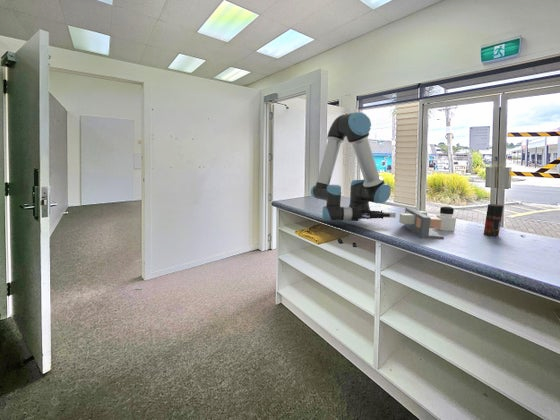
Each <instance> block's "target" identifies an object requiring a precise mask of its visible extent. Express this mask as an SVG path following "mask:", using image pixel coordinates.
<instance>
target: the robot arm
mask: <svg viewBox="0 0 560 420" xmlns="http://www.w3.org/2000/svg"><path fill="white" fill-rule="evenodd" d="M371 127H372V122H371V119H370V117H369V115H367V114H366V113H364V112H361V111H360V112H357V111H356V112H352V113H345V114H340V115H339V116H337V117H336V118H335V119H334V121H333V122H332V123H331V126H330V127H329V130H328V133H327V136H326V139H327V143H326V146H325V150H324V153H323V157H322V161H321V164H320V168H319V171H318V172H319V173H318V176H317V180H316V182H315V185H313V186H312V187H311V189H310V195H311V196H312V198H314V199H317V200H322V201H324V202H325V201H326V204H325V206H323V207H322V209H321V210H322V213H321V215H322V216H321V217H322V219H323V220H324V221H341V222H342V221H344V222H345V223H346V222H347V221H348V222H349V221H351V222H358V221H359V220H360V219H366V220H369V219H370V220H371V219H373V220H374V219H381V220H384V218H388V219H389V218H390V219H391V218H393V219H394V218H396V217H397V212H395V211H383V210H371V208H370V202H371V203H375V204H384V203H386V202H387V201H388V200H389V199H390V196H391V193H392V188H391V186H390V184H388V183H385V180H384V178H383V176H380V173H379V170H378V167H377V165H376V164H377V163H376V161H375V156H374V154H373V151H372V148H371V147H372V146H371V144H370V141H369V139H368V138H369V136H370V131H371V129H372V128H371ZM345 138H346V140H347V142H348V143H349V144H351V145H352V148H353V151H354V154H355V157H356V160H357V163H358V165H359V168H360V172H361V174H362V177H363V179H353V180H352V181H350V190H349V191H350V192H349V193H350V196H349V199H350V200H349V205H348V206H341V202H342V201H341V199H342V198H341V197H342V187H341V185H339V184H331V180H332V177H333V172H334V169H335V165H336V162H337V159H338V155H339V151H340V147H341V144H343V143H344V141H345Z"/></svg>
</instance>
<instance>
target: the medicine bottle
mask: <svg viewBox="0 0 560 420" xmlns="http://www.w3.org/2000/svg"><path fill="white" fill-rule="evenodd" d="M439 210H440V211H439V214H436V217H437V218H439V219H442V220H441V228H440V229H438V230H439V231H444V232H445V231H447V232H455V228H456V223H457V222H456V221H457V217H455V216H454V212H455V211H454V210H455V209H454V207H452V206H445V205H444V206H440V209H439Z"/></svg>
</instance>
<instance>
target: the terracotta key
mask: <svg viewBox="0 0 560 420" xmlns="http://www.w3.org/2000/svg"><path fill="white" fill-rule="evenodd" d="M429 217H430V218H431V219H430V227H429V228H430V229H432V230H433V229H434V230H435V229H437V230H439V229H440V228H441V220H442V219H439V218H437V216H435V217H433V216H429ZM421 224H422V218H421V217H417V222H416V226H417V227H419V228H421Z"/></svg>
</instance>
